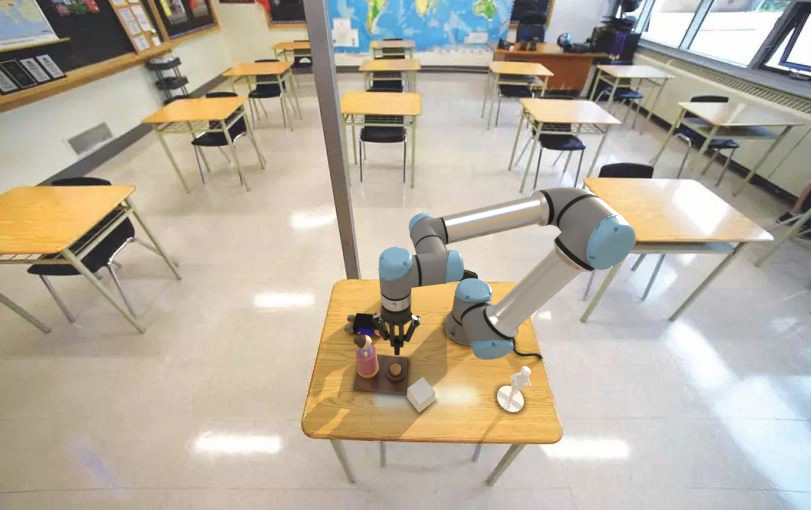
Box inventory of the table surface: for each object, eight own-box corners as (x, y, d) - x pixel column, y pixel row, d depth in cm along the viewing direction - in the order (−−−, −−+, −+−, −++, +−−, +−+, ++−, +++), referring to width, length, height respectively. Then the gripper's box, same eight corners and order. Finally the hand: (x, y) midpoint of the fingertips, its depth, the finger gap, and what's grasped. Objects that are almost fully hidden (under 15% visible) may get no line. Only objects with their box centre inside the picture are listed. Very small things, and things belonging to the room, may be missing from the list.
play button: (401, 366, 103) (401, 363, 102) (400, 377, 101) (400, 374, 99) (390, 365, 103) (390, 362, 102) (389, 376, 101) (389, 373, 100)
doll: (356, 378, 99) (351, 349, 88) (357, 358, 104) (352, 328, 93) (379, 377, 100) (376, 347, 88) (378, 356, 105) (376, 326, 94)
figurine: (522, 389, 101) (539, 360, 89) (523, 415, 96) (542, 387, 84) (497, 384, 103) (510, 354, 91) (496, 408, 97) (511, 380, 85)
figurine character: (346, 339, 116) (386, 341, 113) (341, 326, 111) (383, 328, 108) (350, 324, 121) (389, 325, 118) (346, 311, 116) (386, 312, 113)
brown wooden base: (407, 360, 108) (408, 354, 106) (404, 395, 99) (404, 390, 97) (361, 355, 109) (360, 350, 107) (354, 390, 100) (353, 385, 98)
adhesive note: (407, 397, 99) (407, 388, 95) (421, 385, 102) (422, 376, 98) (419, 413, 96) (420, 404, 92) (434, 400, 98) (435, 392, 94)
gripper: (367, 311, 77) (373, 361, 93) (421, 314, 76) (418, 364, 92) (372, 288, 82) (377, 338, 98) (422, 291, 82) (419, 342, 97)
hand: (397, 351), depth 95 cm, fingers closed
